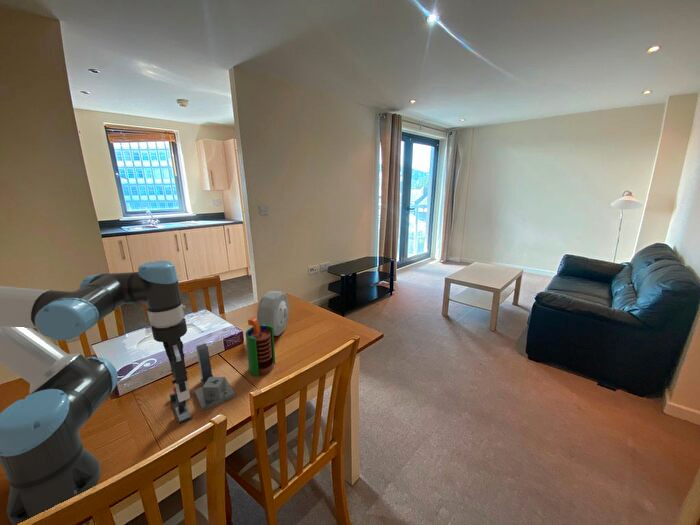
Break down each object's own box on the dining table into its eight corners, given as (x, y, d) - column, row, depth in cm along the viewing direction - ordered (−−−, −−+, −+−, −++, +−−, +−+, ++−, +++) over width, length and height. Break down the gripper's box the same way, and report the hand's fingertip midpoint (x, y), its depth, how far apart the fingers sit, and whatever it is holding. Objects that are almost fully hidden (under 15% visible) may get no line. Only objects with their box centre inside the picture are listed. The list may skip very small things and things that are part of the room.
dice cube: (220, 400, 93) (218, 387, 92) (204, 400, 93) (202, 387, 92) (226, 389, 98) (224, 376, 97) (211, 389, 98) (209, 376, 97)
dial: (280, 345, 127) (276, 302, 121) (254, 343, 129) (250, 300, 123) (295, 323, 146) (293, 285, 141) (273, 321, 148) (270, 284, 143)
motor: (266, 378, 106) (261, 328, 101) (243, 375, 108) (237, 325, 102) (278, 361, 116) (274, 315, 110) (257, 358, 117) (252, 313, 112)
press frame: (178, 424, 86) (170, 384, 82) (168, 394, 98) (161, 357, 95) (236, 398, 96) (231, 361, 93) (220, 373, 109) (215, 339, 105)
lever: (179, 421, 86) (173, 390, 83) (176, 413, 89) (170, 383, 86) (190, 416, 88) (185, 385, 85) (187, 409, 91) (182, 378, 88)
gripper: (190, 326, 72) (205, 405, 79) (179, 309, 82) (193, 380, 89) (154, 336, 68) (173, 419, 74) (147, 317, 77) (164, 392, 84)
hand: (184, 398), depth 81 cm, fingers closed
